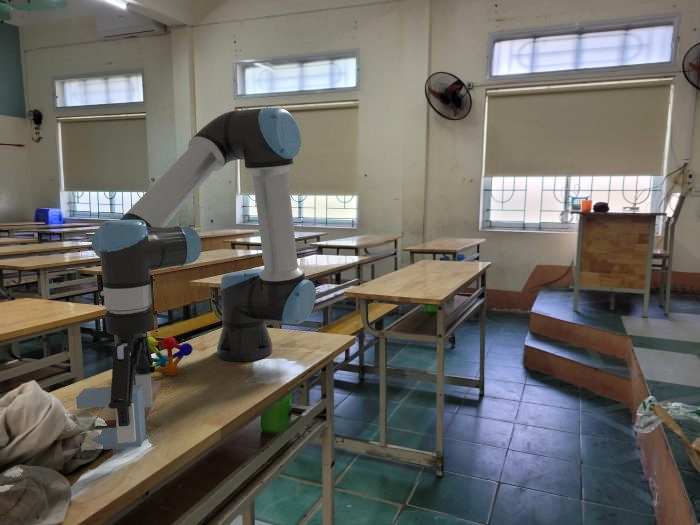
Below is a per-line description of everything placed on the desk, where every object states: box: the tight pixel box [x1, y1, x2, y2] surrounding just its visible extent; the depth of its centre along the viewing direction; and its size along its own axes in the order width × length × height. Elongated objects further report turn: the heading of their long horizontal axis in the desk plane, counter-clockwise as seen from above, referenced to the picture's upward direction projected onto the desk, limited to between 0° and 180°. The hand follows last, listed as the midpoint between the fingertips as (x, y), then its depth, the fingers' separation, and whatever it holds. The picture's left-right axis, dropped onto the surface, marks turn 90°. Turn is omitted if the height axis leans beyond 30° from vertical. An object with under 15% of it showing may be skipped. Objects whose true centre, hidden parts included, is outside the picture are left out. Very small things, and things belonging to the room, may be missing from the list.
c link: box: [75, 384, 147, 450], centre depth 88 cm, size 10×4×10 cm, turn 101°
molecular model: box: [147, 336, 194, 377], centre depth 123 cm, size 11×10×15 cm
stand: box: [97, 370, 163, 427], centre depth 104 cm, size 9×19×13 cm, turn 10°
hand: (136, 422), depth 89 cm, fingers open, 13 cm apart
